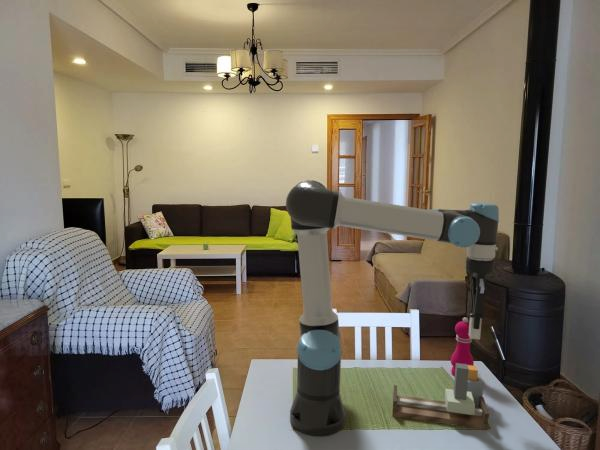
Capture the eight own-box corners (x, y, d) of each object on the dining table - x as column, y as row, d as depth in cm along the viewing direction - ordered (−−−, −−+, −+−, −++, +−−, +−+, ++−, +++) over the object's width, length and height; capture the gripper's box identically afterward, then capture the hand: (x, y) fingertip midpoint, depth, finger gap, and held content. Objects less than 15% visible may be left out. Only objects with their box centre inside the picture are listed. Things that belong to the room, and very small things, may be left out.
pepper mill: (474, 380, 144) (479, 322, 141) (451, 378, 146) (455, 320, 143) (470, 370, 151) (475, 314, 148) (448, 368, 153) (452, 312, 150)
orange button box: (459, 406, 129) (461, 380, 128) (457, 396, 135) (458, 371, 133) (481, 409, 127) (483, 383, 126) (477, 398, 133) (480, 373, 132)
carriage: (447, 411, 121) (450, 370, 119) (444, 398, 127) (447, 359, 126) (474, 415, 119) (477, 373, 117) (470, 401, 126) (473, 362, 124)
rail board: (392, 415, 123) (393, 400, 123) (393, 399, 132) (393, 385, 131) (487, 429, 118) (489, 414, 117) (481, 411, 126) (483, 396, 126)
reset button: (465, 388, 129) (467, 369, 128) (464, 383, 132) (465, 364, 131) (476, 390, 128) (478, 370, 128) (474, 385, 131) (476, 366, 131)
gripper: (500, 264, 117) (492, 348, 120) (489, 253, 131) (483, 329, 134) (470, 262, 118) (463, 345, 122) (463, 252, 132) (457, 326, 136)
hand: (474, 337), depth 128 cm, fingers closed
